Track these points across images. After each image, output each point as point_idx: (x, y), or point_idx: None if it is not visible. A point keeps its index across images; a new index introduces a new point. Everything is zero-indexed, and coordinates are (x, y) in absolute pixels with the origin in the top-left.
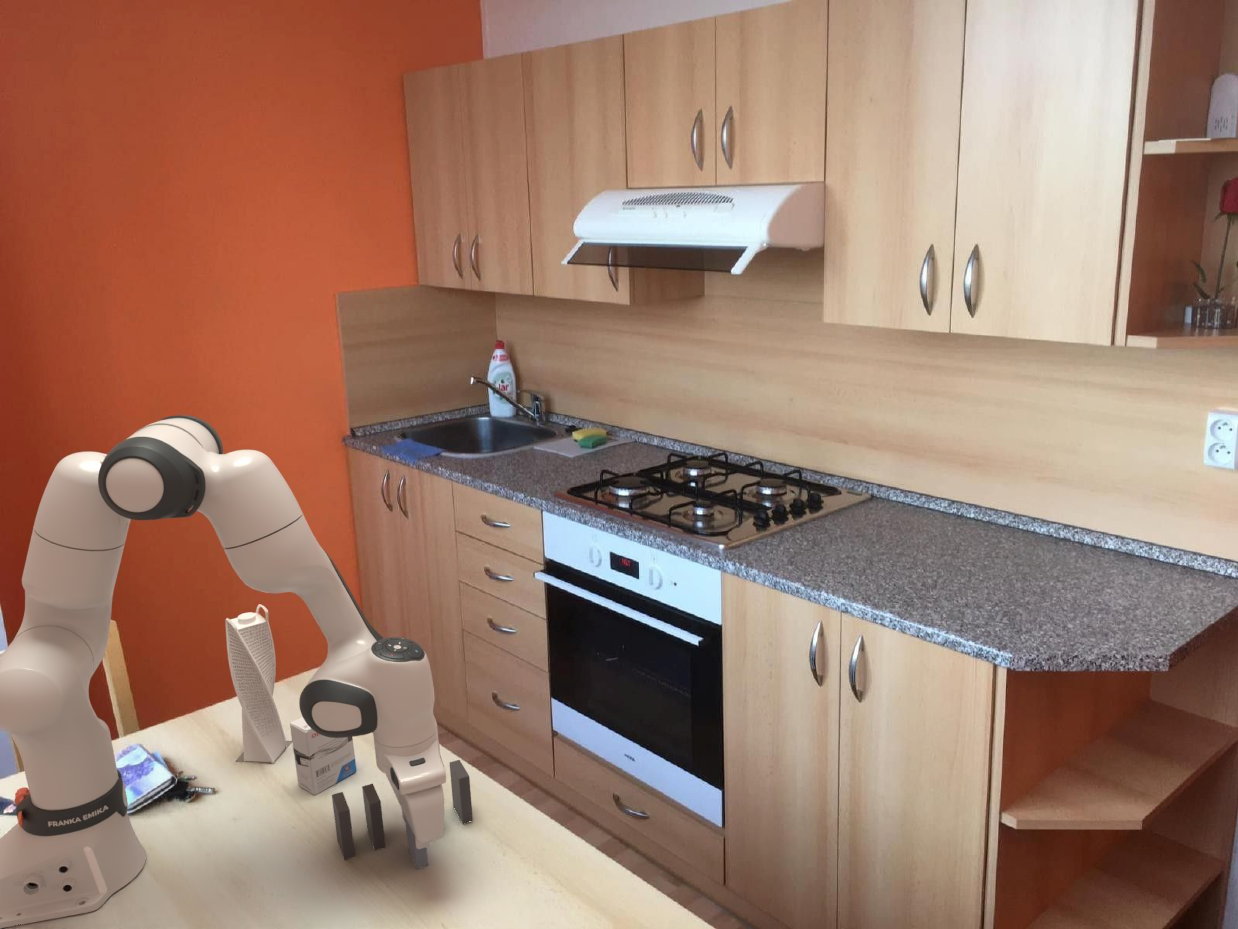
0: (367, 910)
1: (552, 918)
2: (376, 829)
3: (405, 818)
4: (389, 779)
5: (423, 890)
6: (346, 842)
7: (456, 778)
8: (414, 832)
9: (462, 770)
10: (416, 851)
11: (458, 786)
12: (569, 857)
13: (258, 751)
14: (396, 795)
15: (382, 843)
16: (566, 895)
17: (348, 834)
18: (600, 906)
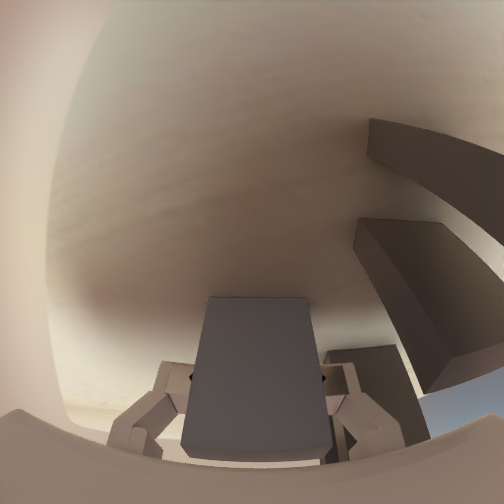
0: (87, 142)
1: (59, 381)
2: (385, 272)
3: (316, 388)
4: (449, 463)
5: (124, 286)
6: (400, 142)
7: None
8: (20, 437)
9: None
10: (201, 340)
11: (336, 459)
12: None
13: None
14: (328, 491)
15: (359, 251)
16: (94, 404)
17: (417, 163)
18: (79, 409)
